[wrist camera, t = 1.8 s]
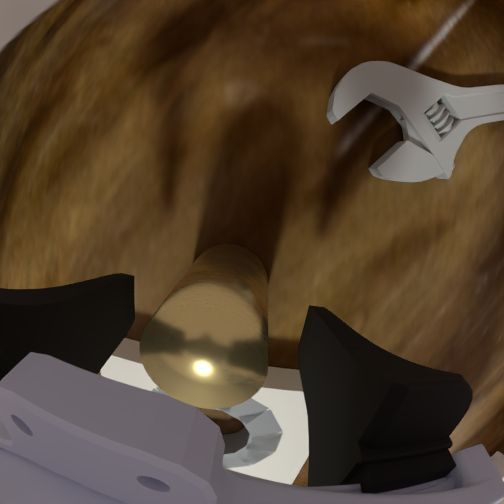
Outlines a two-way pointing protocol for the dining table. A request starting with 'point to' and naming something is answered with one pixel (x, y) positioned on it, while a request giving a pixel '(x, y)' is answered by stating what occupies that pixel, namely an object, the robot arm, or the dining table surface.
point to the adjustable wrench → (417, 116)
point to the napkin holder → (499, 463)
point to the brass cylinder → (211, 331)
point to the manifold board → (244, 418)
